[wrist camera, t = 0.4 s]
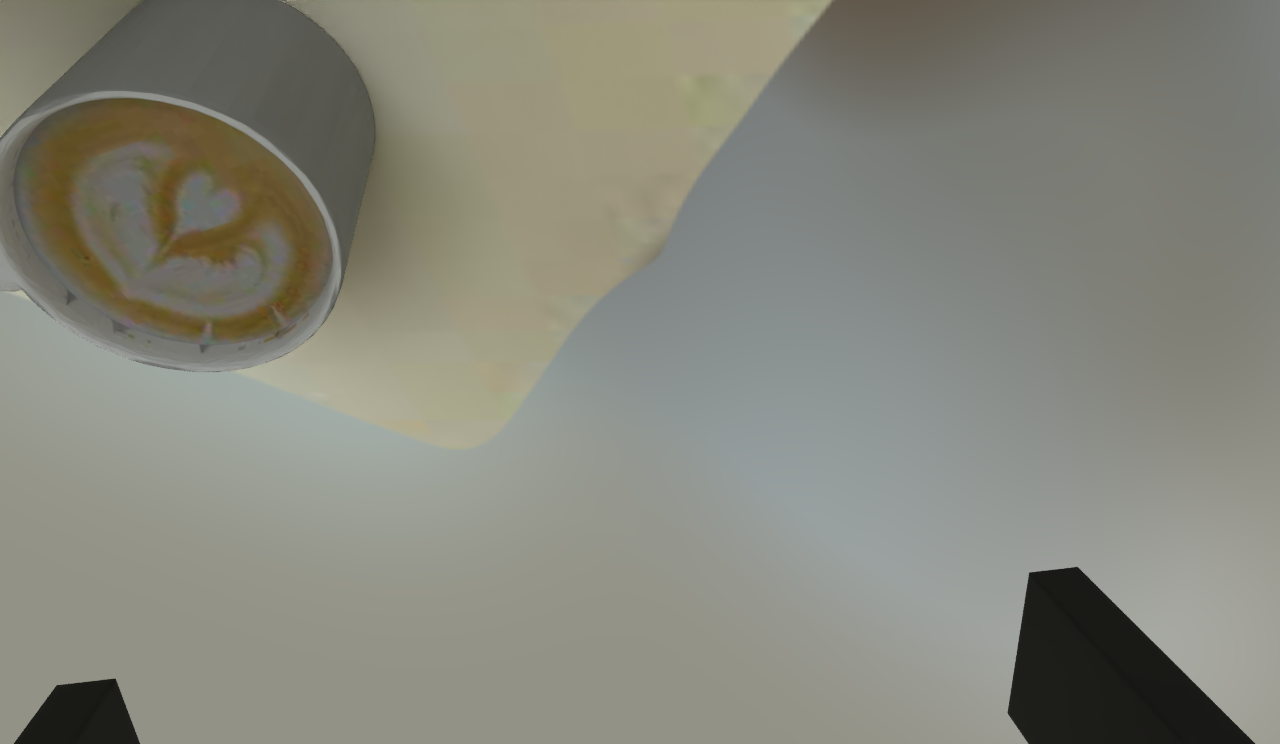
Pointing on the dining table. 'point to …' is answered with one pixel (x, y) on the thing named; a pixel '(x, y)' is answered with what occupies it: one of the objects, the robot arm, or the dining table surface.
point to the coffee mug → (190, 185)
